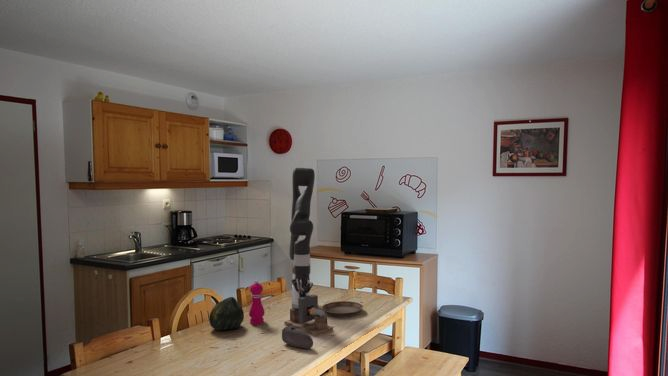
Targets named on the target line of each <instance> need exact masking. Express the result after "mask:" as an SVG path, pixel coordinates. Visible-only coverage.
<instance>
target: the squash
mask: <svg viewBox="0 0 668 376" xmlns="http://www.w3.org/2000/svg"><path fill="white" fill-rule="evenodd" d="M208 319H209V320H208V321H209V324H210V327H211V328H213V329H214V330H217V331H223V330H224V331H225V330H236V329H238V328H240V327H241V325H242V323H243V321H244V319H245V313H244V309H243V307H242V306H241V304H240V303H239V302H238V300H237V299H236V298H235V297H234V296H230V297H226V298H225V299H222V300H220V301H219V302H218V303H216V304H215V305H214V306H213V307H212V309H211V311H210V313H209V318H208Z"/></svg>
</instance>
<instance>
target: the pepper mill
mask: <svg viewBox="0 0 668 376" xmlns="http://www.w3.org/2000/svg"><path fill="white" fill-rule="evenodd" d="M249 291H250V293H251V294H250V295H251V296H250V297H251V298H252V299H251V300H252V301H251V306H250V308H249V311H248V316H249V317H250V319H249V322H250V325H262V324H264V319H265V318H264V316H265V308H264V306H263V304H262V297H263V293H262V292H263V291H264V287H263V285H262V284H261V283H260V282H259V280H257V279H255V280H254V283H252V284H251V285H250V287H249Z"/></svg>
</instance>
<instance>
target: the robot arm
mask: <svg viewBox="0 0 668 376" xmlns="http://www.w3.org/2000/svg"><path fill="white" fill-rule="evenodd" d="M291 178H292V180H291V181H292V182H291V183H292V203H291V217H290V219H291V220H290V221H291V222H290V225H289V231H290V239H289V240H290V242H289V258H290V260H291V261H293V267H292V271H291V272H292V280H291V283H292V286H291V305H292V304H293V303H294V302H295V303H298V298H301V297H305V296H309V295H311V289H312V287H313V286H314V282H311V247H310V244H311V238H312V234H313V231H314V223H313V222H312V220H310V216H311V203H312V197H313V193H314V185H315V180H316V178H315V170H314V168H309V167H294V168H293V170H292V177H291ZM300 187H306V188H305V190H304V191H303V192H302V193H301V190H300ZM300 236H302V237H303V236H305V237H304V238H303V239H301V240H299V237H300Z"/></svg>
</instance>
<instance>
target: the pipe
mask: <svg viewBox="0 0 668 376" xmlns="http://www.w3.org/2000/svg"><path fill="white" fill-rule="evenodd" d="M291 308H293V309H296V310H298V303H295V302H294V303H293V304H292V303H291ZM307 313H308V314H310V315H313V316H318V317H321V318H322V317H324V316H325V315H327V314H326V313H325V311H323V310H321V309H319V308H318V309H316V308H314V307H307Z"/></svg>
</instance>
